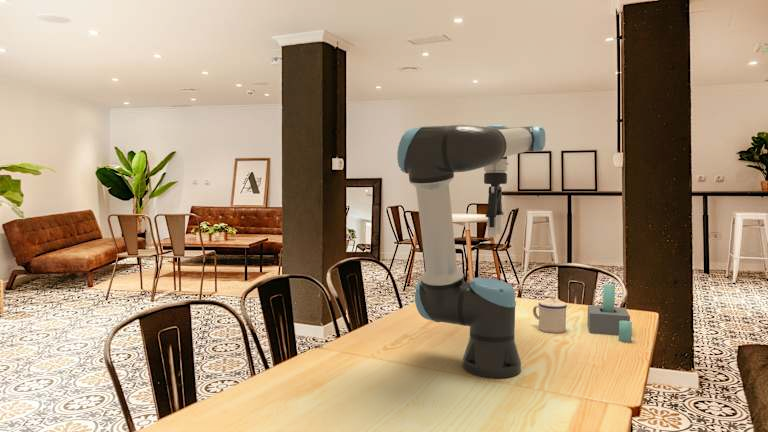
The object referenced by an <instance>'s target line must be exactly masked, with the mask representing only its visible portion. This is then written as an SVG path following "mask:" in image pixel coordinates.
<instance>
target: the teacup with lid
mask: <svg viewBox="0 0 768 432" xmlns="http://www.w3.org/2000/svg"><path fill="white" fill-rule="evenodd" d="M567 307H568V305H567V303H566V302H565V301H562V300H560V299H559V298H557V295H555V294H550V295H549V297H547V298H545V299H542V300H539V302H538V304H537V305H534V307H532V313H533V316H534V318H535V319H536V320H538V329H539V330H540V331H542V332H545V333H555V334H558V333H560V334H561V333H563V332H565V331H566V329H567V328H566V327H567V326H566V325H567V321H566V320H567ZM537 309H538V314H537Z"/></svg>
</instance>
